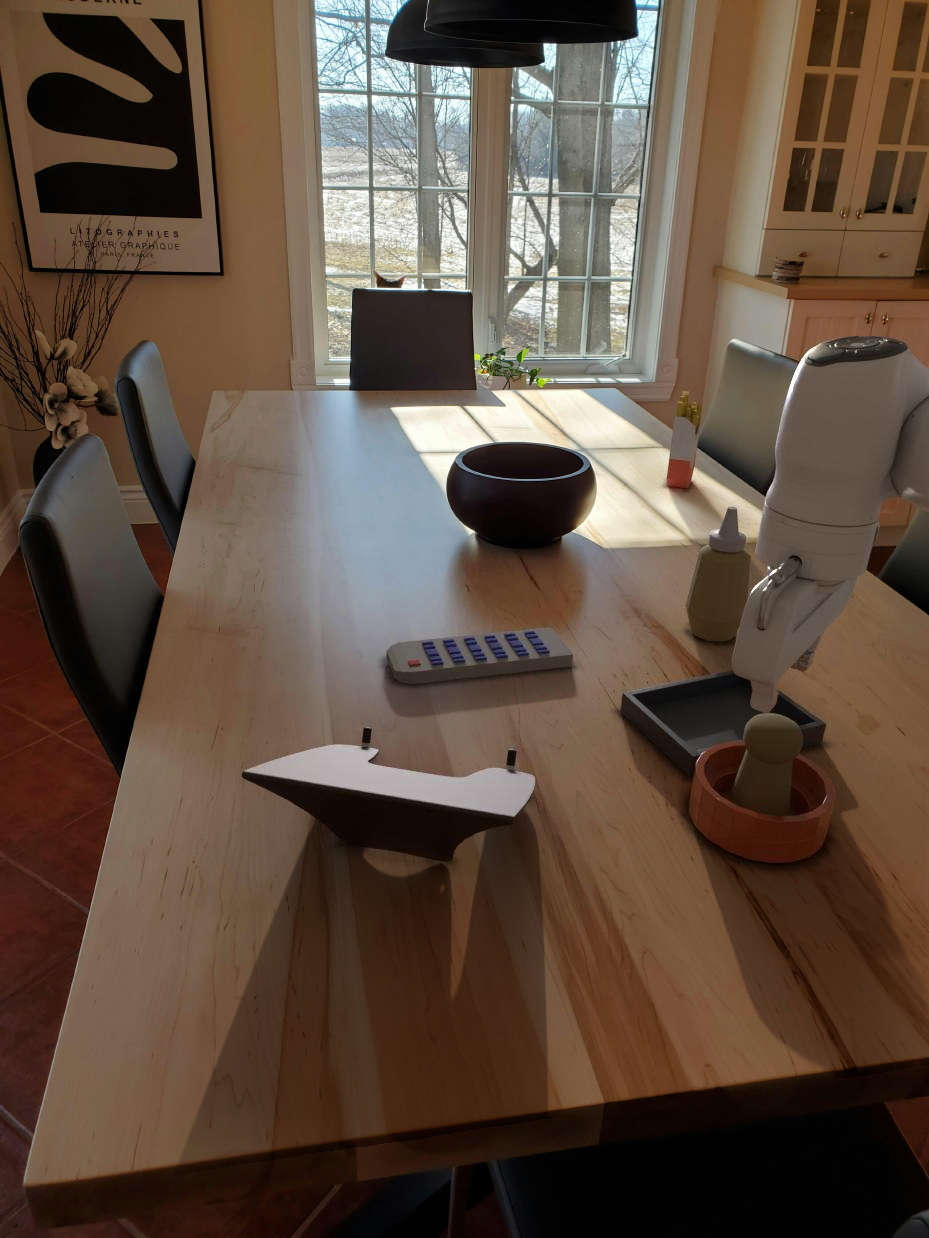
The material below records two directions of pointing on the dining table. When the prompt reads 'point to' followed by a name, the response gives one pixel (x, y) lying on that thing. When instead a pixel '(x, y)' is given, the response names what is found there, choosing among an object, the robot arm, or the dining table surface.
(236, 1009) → the dining table surface
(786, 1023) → the dining table surface
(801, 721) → the tray
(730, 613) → the squeeze bottle
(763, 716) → the olive green bottle
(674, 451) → the french fries container
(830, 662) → the dining table surface
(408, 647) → the remote control
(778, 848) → the bowl
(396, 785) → the laptop tray
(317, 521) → the dining table surface
